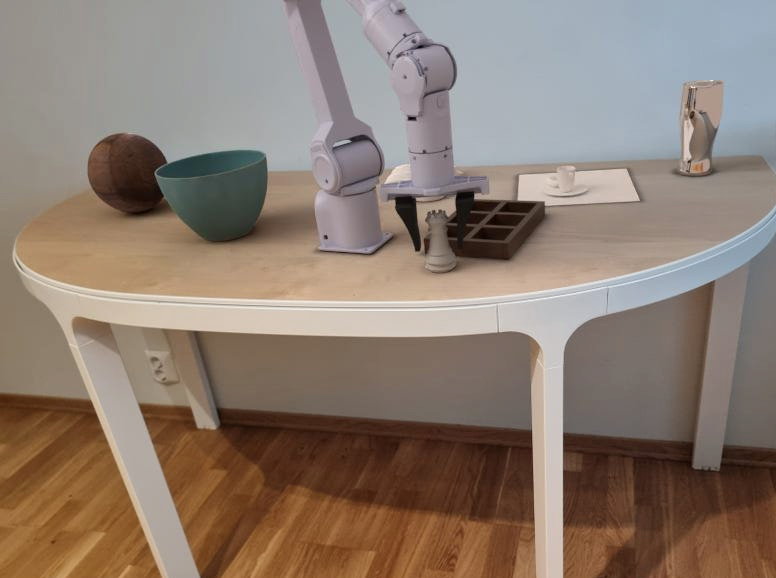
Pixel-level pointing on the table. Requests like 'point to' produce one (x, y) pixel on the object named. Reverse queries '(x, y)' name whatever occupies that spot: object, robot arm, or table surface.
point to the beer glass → (699, 125)
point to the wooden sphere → (126, 172)
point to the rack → (494, 228)
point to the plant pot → (217, 191)
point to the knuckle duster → (405, 174)
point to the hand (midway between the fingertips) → (439, 247)
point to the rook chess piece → (439, 243)
